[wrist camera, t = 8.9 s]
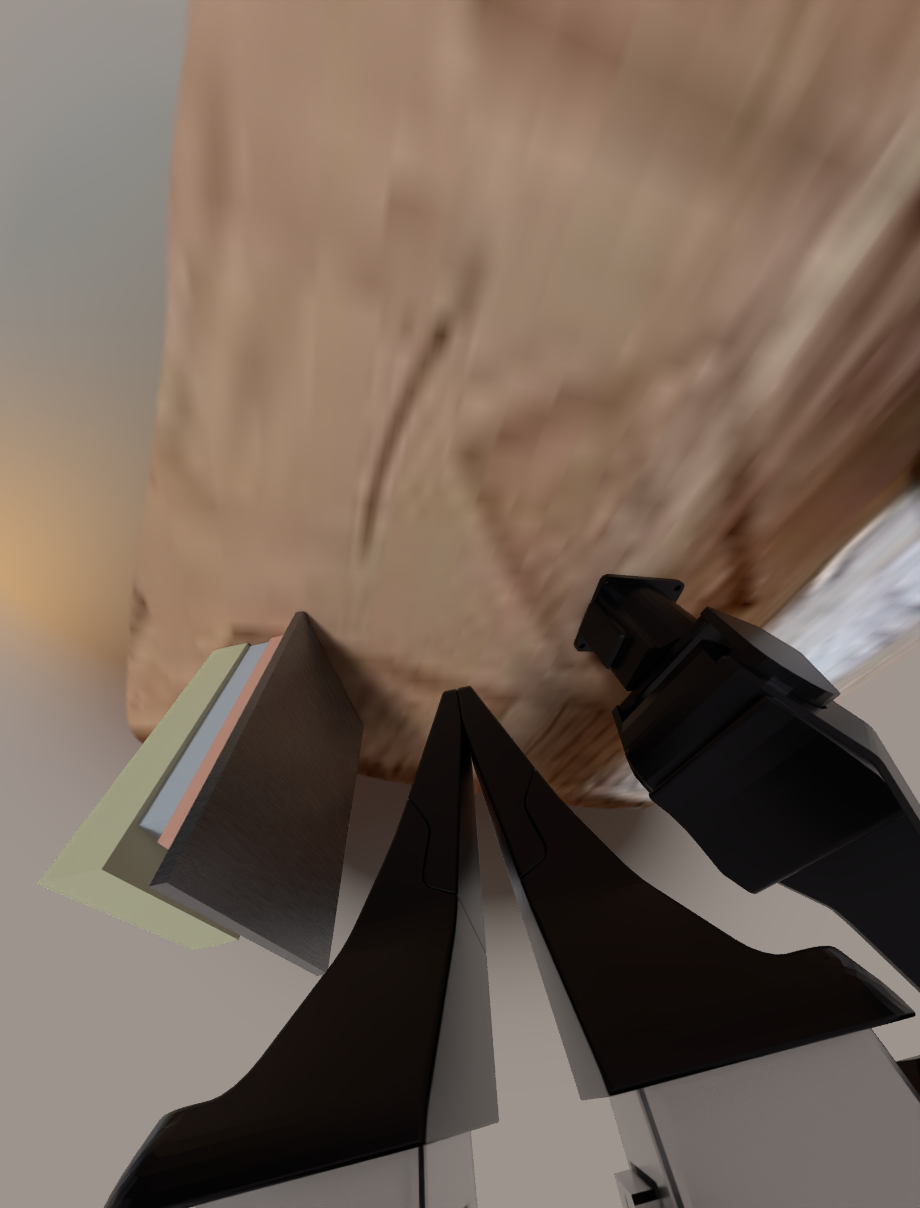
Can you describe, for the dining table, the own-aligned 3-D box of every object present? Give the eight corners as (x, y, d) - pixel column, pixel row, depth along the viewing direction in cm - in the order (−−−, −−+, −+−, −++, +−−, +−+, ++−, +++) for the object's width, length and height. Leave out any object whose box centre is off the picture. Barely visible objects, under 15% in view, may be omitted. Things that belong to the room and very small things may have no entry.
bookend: (303, 611, 21) (166, 882, 9) (363, 727, 28) (327, 973, 16) (295, 612, 21) (148, 886, 9) (357, 728, 28) (317, 975, 16)
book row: (301, 631, 22) (205, 845, 11) (347, 717, 27) (310, 922, 16) (214, 649, 22) (36, 884, 11) (277, 733, 27) (194, 950, 16)
